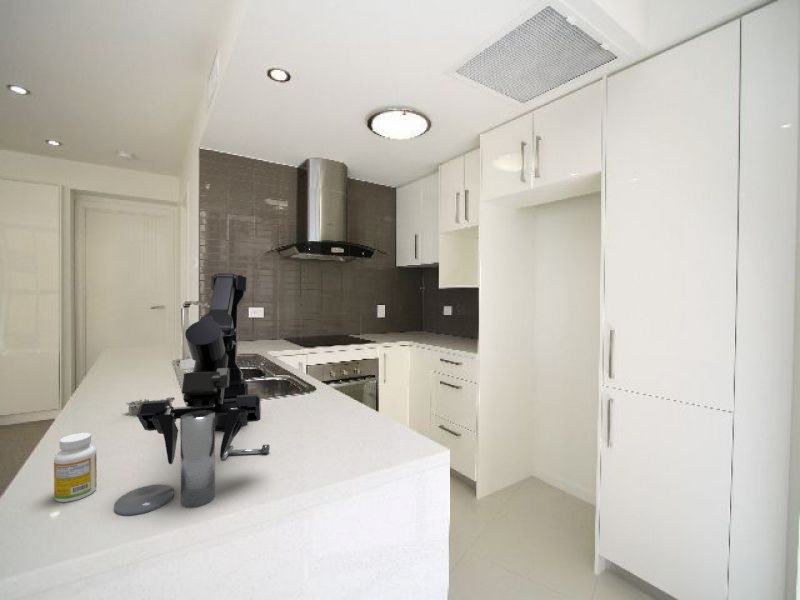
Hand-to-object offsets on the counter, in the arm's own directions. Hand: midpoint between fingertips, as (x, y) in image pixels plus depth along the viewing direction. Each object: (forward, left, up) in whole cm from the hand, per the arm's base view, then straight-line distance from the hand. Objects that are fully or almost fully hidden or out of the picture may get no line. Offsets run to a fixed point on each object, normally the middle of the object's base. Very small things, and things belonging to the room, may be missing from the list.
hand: (196, 460), depth 60 cm
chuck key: (-4, +18, -7) cm, 19 cm away
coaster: (-9, -1, -7) cm, 11 cm away
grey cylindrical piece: (-1, +1, -7) cm, 7 cm away
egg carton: (-46, +35, -8) cm, 58 cm away
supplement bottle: (-22, -2, -7) cm, 23 cm away
